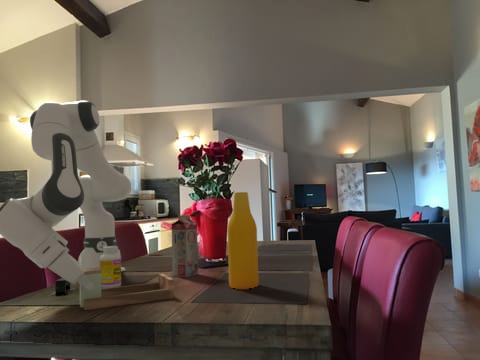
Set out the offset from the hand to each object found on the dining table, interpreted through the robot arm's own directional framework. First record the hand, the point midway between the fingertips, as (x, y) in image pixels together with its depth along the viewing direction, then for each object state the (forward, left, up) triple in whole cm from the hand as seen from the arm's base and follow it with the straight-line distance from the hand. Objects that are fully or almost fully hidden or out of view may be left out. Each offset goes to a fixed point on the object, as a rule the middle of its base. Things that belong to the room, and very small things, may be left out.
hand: (90, 284), depth 103 cm
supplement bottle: (-21, +8, -5) cm, 23 cm away
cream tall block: (0, 0, -5) cm, 5 cm away
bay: (0, +9, -5) cm, 10 cm away
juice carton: (-26, +35, -5) cm, 44 cm away
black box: (-21, -6, -6) cm, 22 cm away
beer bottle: (+4, +44, -5) cm, 44 cm away
